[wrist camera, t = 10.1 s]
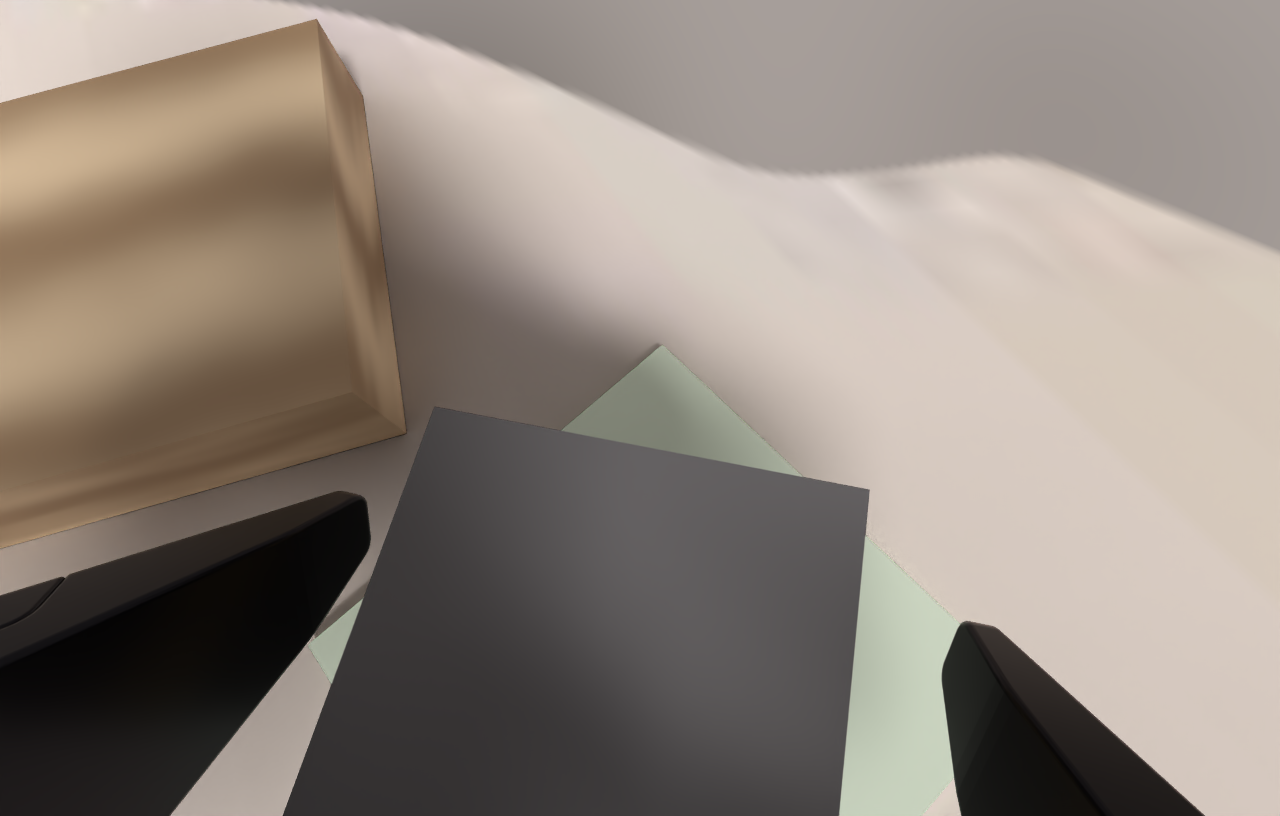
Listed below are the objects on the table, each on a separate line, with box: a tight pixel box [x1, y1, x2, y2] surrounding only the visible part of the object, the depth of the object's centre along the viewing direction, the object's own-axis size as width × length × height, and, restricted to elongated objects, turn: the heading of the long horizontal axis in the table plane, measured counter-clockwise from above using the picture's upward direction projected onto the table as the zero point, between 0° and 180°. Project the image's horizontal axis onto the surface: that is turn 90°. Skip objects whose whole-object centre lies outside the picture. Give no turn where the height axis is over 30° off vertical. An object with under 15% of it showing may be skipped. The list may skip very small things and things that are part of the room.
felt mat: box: [308, 345, 960, 816], centre depth 14 cm, size 12×12×1 cm
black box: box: [283, 407, 870, 816], centre depth 10 cm, size 5×5×9 cm
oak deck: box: [0, 19, 407, 549], centre depth 19 cm, size 14×14×3 cm
